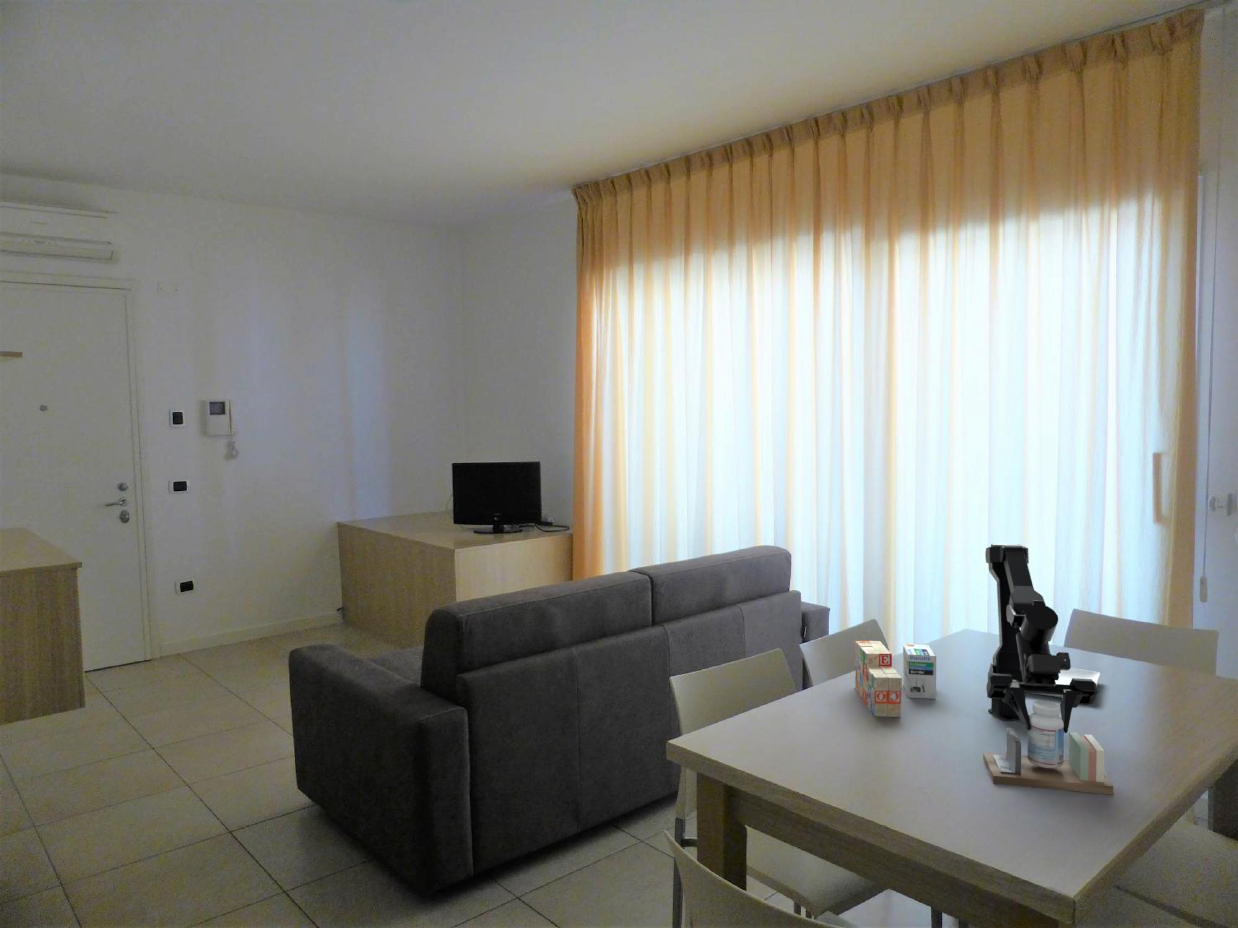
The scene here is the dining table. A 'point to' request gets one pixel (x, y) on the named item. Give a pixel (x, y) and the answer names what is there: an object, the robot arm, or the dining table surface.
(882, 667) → the stack of blocks
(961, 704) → the dining table surface
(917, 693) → the light bulb box
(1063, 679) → the salad plate
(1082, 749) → the row of books
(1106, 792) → the shelf board
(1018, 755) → the bookend
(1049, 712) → the pill bottle
